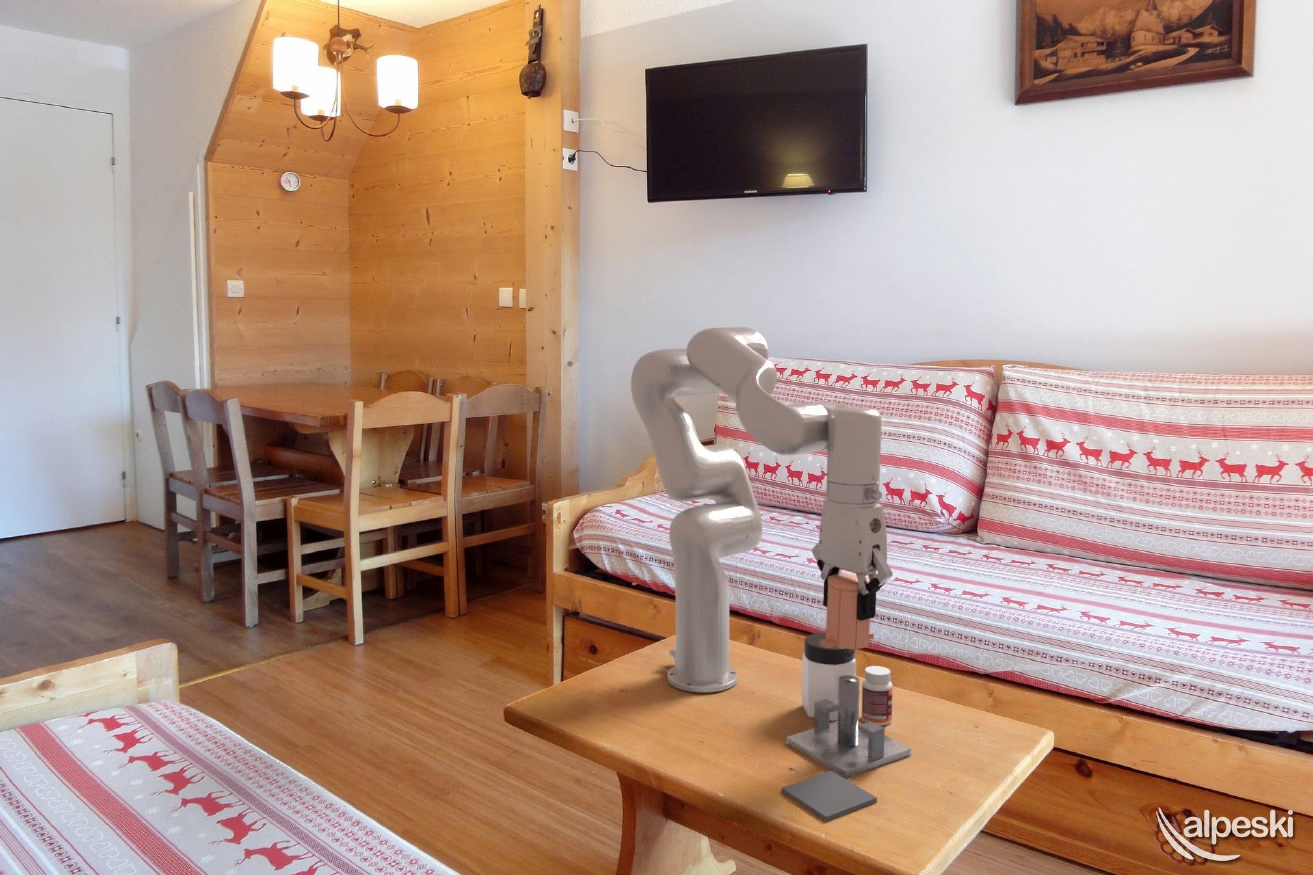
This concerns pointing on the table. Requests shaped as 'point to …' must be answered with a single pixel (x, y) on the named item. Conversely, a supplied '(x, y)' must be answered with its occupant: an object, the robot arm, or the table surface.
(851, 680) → the pegged base plate
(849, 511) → the robot arm
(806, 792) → the coaster
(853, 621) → the salmon domed faceted piece
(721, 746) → the table surface
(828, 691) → the jar
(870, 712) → the pill bottle
